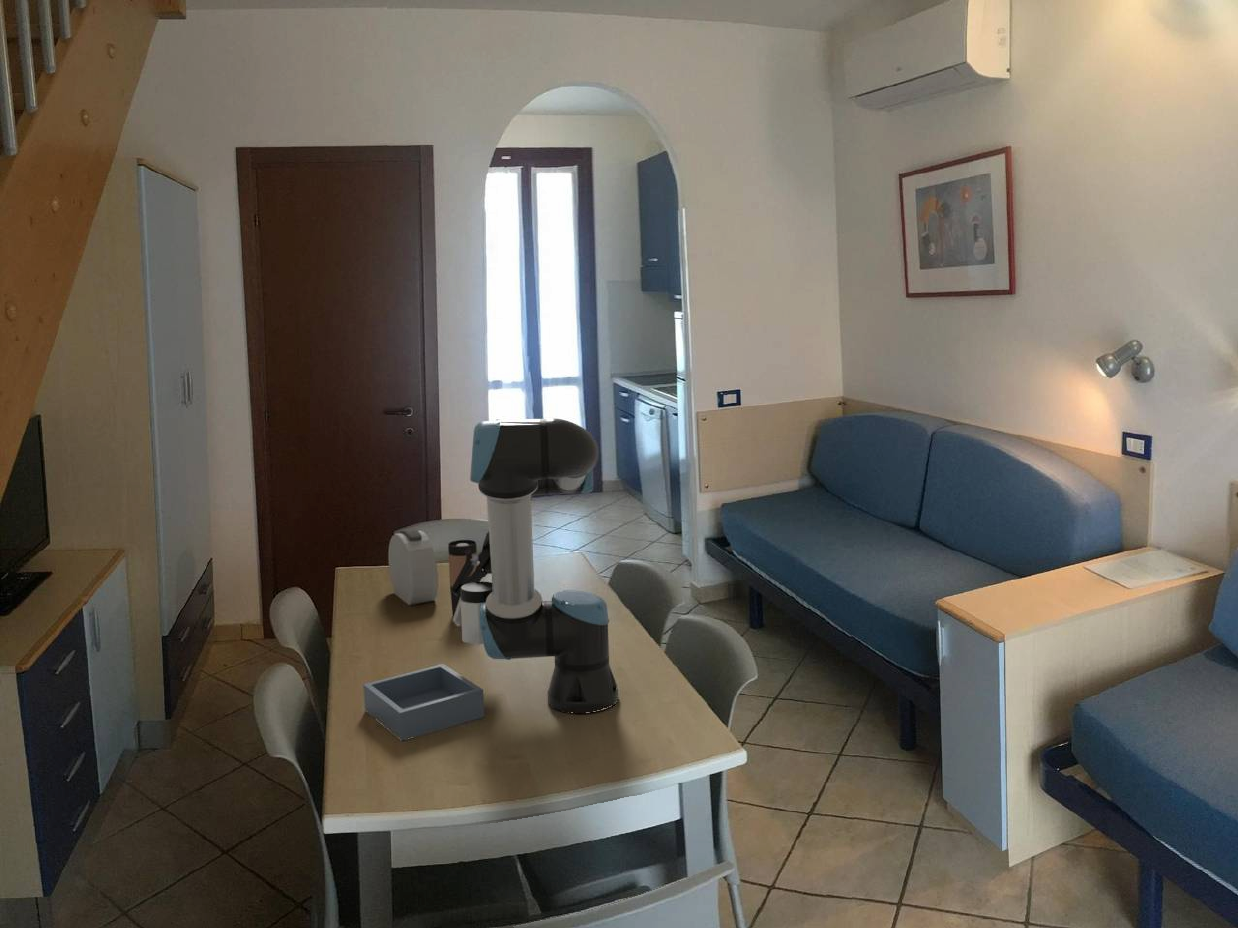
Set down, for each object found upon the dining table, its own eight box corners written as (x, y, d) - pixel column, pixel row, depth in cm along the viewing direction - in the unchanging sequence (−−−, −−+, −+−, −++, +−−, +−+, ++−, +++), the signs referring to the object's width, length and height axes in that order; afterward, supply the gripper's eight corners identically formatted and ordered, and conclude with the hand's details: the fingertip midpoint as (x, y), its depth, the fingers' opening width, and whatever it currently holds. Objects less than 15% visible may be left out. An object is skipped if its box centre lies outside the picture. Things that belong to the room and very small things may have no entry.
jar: (470, 647, 223) (468, 594, 221) (455, 637, 230) (452, 585, 228) (507, 639, 228) (505, 587, 226) (491, 629, 235) (488, 578, 233)
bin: (484, 716, 212) (482, 689, 211) (401, 741, 202) (399, 712, 201) (444, 689, 227) (442, 663, 226) (365, 711, 217) (363, 684, 215)
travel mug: (486, 613, 278) (482, 541, 275) (467, 621, 272) (463, 548, 268) (464, 608, 282) (460, 538, 279) (445, 616, 276) (441, 544, 273)
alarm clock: (439, 604, 287) (435, 535, 283) (414, 609, 283) (409, 539, 280) (414, 585, 305) (410, 520, 302) (390, 589, 301) (385, 524, 298)
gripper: (549, 547, 237) (523, 636, 225) (467, 542, 244) (438, 628, 232) (539, 530, 231) (512, 620, 219) (456, 526, 238) (425, 613, 226)
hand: (474, 624), depth 225 cm, fingers closed on jar, 8 cm apart
